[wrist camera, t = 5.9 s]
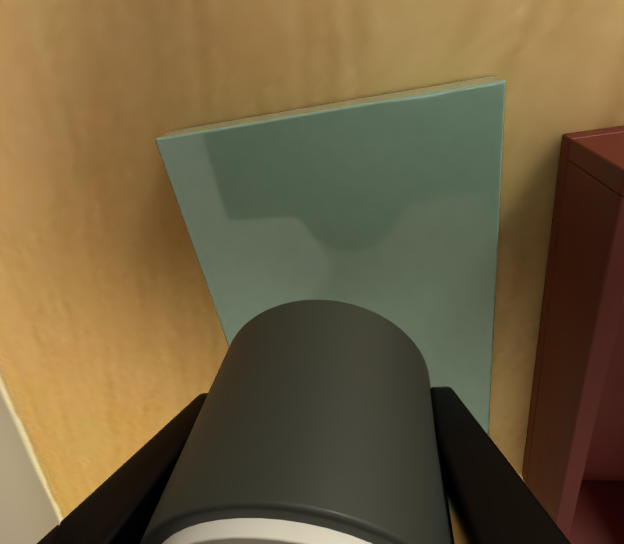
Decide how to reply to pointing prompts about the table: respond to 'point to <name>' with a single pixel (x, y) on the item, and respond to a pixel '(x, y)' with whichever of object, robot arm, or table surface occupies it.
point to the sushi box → (582, 347)
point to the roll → (311, 439)
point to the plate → (358, 216)
